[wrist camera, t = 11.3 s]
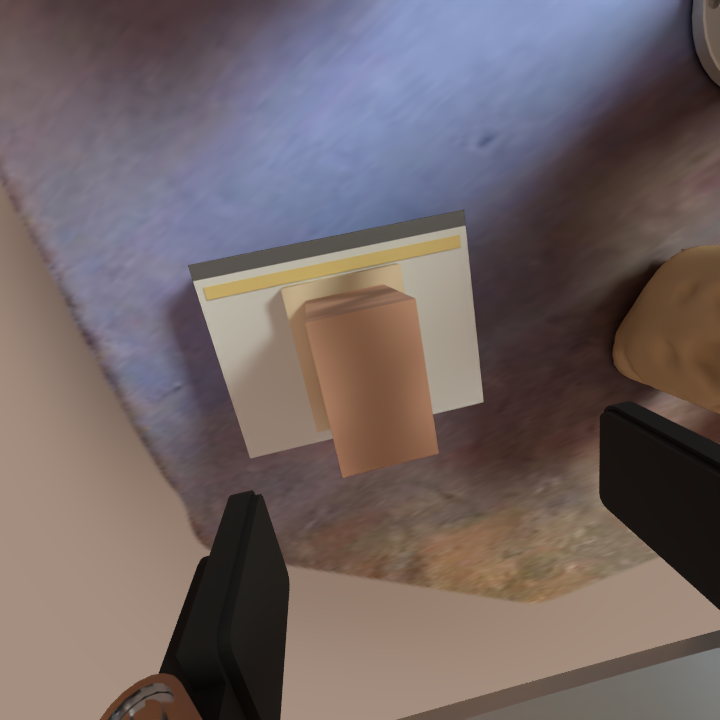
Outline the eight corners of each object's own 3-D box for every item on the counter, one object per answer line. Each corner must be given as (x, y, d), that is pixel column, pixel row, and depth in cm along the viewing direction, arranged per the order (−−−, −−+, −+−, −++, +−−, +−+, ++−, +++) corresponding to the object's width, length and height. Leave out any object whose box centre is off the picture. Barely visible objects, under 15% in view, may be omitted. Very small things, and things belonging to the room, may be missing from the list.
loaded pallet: (395, 263, 25) (440, 269, 17) (416, 399, 28) (465, 464, 20) (282, 287, 25) (269, 306, 16) (316, 423, 28) (321, 500, 19)
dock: (438, 216, 30) (464, 209, 25) (458, 380, 34) (484, 402, 29) (207, 262, 28) (187, 265, 23) (258, 427, 32) (250, 459, 28)
